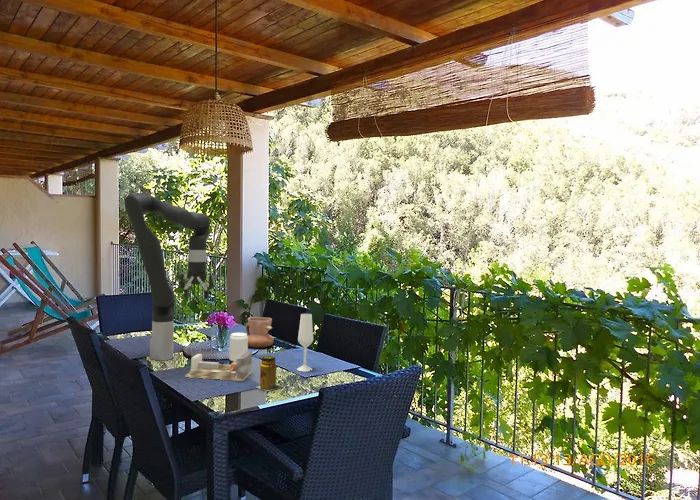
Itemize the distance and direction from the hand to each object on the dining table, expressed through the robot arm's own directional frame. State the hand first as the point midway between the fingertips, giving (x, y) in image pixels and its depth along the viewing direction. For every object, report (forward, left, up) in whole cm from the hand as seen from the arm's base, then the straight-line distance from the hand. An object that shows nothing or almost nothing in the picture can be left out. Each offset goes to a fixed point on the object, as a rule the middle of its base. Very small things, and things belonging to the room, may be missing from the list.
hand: (196, 298), depth 232 cm
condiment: (+37, -19, -30) cm, 51 cm away
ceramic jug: (+16, +44, -30) cm, 56 cm away
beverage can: (+14, +16, -30) cm, 37 cm away
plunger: (+8, -8, -28) cm, 31 cm away
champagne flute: (+46, +8, -30) cm, 56 cm away
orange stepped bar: (+20, -10, -27) cm, 35 cm away
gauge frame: (+13, -8, -30) cm, 34 cm away
